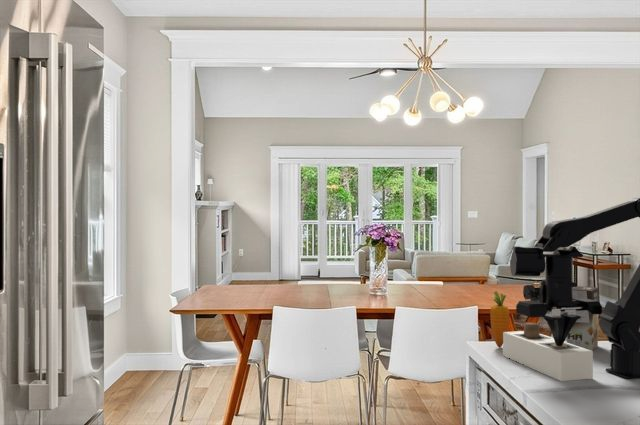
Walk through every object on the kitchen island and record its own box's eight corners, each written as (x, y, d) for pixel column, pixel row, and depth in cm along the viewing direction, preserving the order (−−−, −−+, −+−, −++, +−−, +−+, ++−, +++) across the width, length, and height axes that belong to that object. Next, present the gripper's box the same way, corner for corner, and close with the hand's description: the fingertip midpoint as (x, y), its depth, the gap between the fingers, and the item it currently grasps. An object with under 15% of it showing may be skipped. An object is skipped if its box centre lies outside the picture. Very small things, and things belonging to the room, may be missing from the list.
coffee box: (592, 352, 144) (592, 290, 144) (565, 349, 148) (566, 288, 148) (598, 346, 151) (598, 287, 151) (573, 342, 155) (573, 285, 155)
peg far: (542, 349, 134) (542, 325, 134) (529, 350, 133) (529, 325, 133) (533, 345, 137) (533, 322, 138) (520, 346, 137) (520, 322, 137)
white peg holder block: (592, 378, 121) (592, 351, 121) (561, 381, 119) (561, 353, 119) (530, 354, 142) (530, 330, 142) (503, 355, 140) (503, 332, 140)
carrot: (511, 349, 146) (511, 293, 146) (492, 349, 146) (493, 293, 146) (505, 345, 151) (506, 290, 151) (487, 345, 151) (487, 290, 151)
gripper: (570, 272, 136) (570, 336, 136) (502, 274, 131) (502, 340, 131) (603, 277, 125) (603, 346, 125) (531, 279, 120) (531, 351, 120)
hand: (559, 345), depth 126 cm, fingers closed, pressing on peg near
